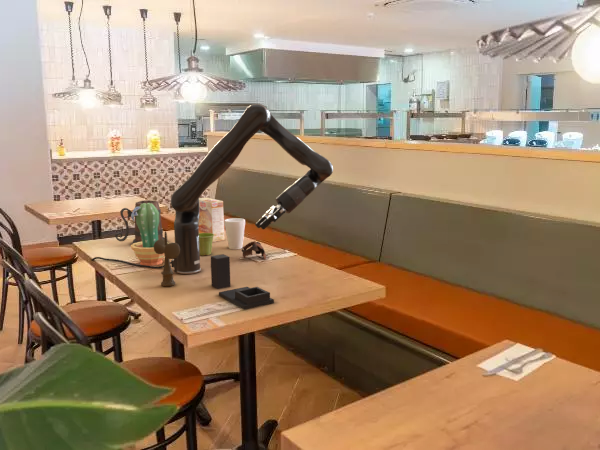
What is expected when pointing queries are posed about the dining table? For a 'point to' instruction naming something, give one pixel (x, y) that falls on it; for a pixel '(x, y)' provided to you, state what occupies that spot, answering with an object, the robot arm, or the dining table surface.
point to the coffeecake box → (211, 218)
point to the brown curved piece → (255, 247)
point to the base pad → (247, 297)
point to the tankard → (136, 231)
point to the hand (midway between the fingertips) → (258, 227)
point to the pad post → (220, 271)
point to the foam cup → (235, 232)
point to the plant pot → (205, 243)
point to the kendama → (167, 259)
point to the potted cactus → (147, 234)
